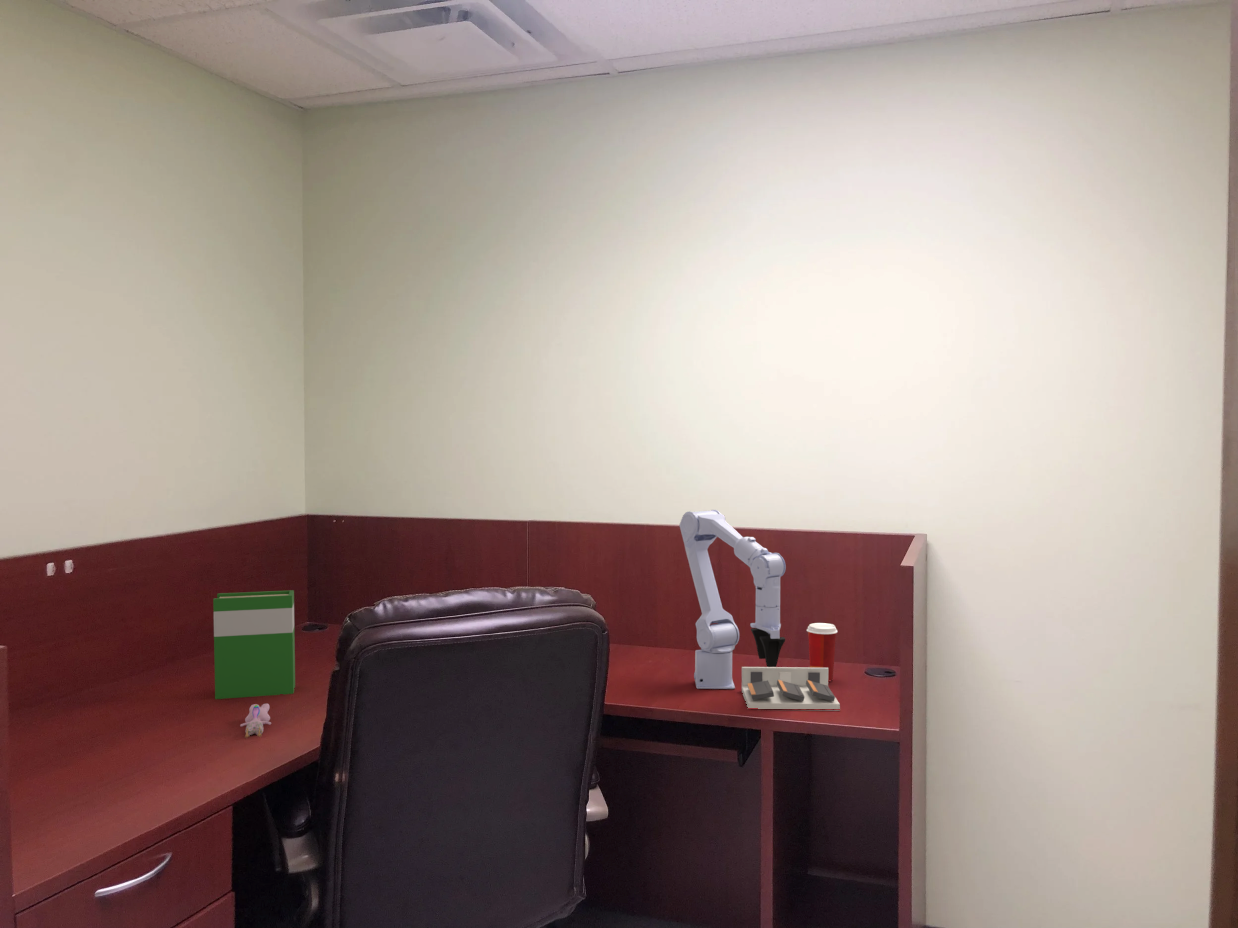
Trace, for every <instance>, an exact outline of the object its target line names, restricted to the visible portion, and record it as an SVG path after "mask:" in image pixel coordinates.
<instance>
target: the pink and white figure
mask: <svg viewBox="0 0 1238 928" xmlns="http://www.w3.org/2000/svg"><path fill="white" fill-rule="evenodd" d="M269 710H270V704H269V703H263V704H261V706H260V705H259V704H257V703H255V704H251V706H250V707H249V710H248V711H249V713H248V714H247V716H246V717H245V718H244V721H245V722H244V723H241V724H240V725H239V726H240V727H244V726H246V727H245V736H244V738H248V737H249V738H250V737H251V736H252V735H257V736H256V737H258V738H259V737H260V738H261V736H262V734H263V732H264V725H270V726H271V724H272V722H271V721H270V720H271V716H270V715H269V713H268V712H269ZM250 735H251V736H250Z"/></svg>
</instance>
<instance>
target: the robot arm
mask: <svg viewBox="0 0 1238 928" xmlns="http://www.w3.org/2000/svg"><path fill="white" fill-rule="evenodd" d="M679 529H680V532H681V533H680V534H681V537H682V541H683V544H684V551H685V554H686V557H687V560H688V564H689V565H688V566H689V569H690V573H691V576H692V581H693V584H694V588H695V592H696V596H697V600H698V603H699V608H700V610H701V615H700V616H699V618H698V619H697V620H696V622H695V628H696V641H697V644H698V646H699V648H700V649H696V650H695V653H694V654H695V655H694V659H695V660H694V661H695V662H694V673H693V678H694V679H693V680H694V683H695V687H696V689H698V690H699V689H702V690H703V689H705V690H706V689H710V690H711V689H712V690H719V689H720V690H734V689H736V686H735V683H734V681H733V680H734V679H733V650H735V649H736V648H735V647H736V645H737V644H738V643H739V641H740V630H739V628H738V625H737V623H735V620H734V618H733V615H732V614H731V613H730V612H728V611H726V610H725V609H724V608H723V605H722V601H721V598H720V593H719V590H718V585H717V582H716V578H715V574H714V570H713V567H712V563H711V559H710V555H709V551H708V549H709V547H710V545H711V544H713V543H714V541H716V539H717V538H718V539H720V540H722V542H724V543H726V544H727V545H729V546H730V547H732V548H733V553H734V555H735V557H736V558H738V559H739V560H740V561H741V562H743V563H744V564H745V565H747V567H748V568H749V569H750V573H751V576H752V577H753V584H754V587H755V618H754V619H755V622H751V623H750V625H749V626H750V627H751V628H750V632H751V633H752V635H753V638H754V640H755V645H756V651H757V655H758V659H759V660H762V659H763V660H765V664H766V667H777V665H778V662H779V657H780V652H781V650H782V648H783V645H784V644H785V642H786V637H784V636H782V637H781V636H780V632H781V631H780V630H781V627H782V623H781V577H782V576H784V574H785V572H786V570H787V569H786V568H787V566H786V561H785V559H784V557H783V556H782V555H781V554H780V553H779V552H770V551H769V550H768V548H766V547H763V546H762V545H761V544H760V543H758V542H757V541H756V538H755V537H754V536H743V535H741V533H739V532H738V531H737V530H736V529H735V528H734V527H733V526H732V525H731V524H729V523H728V522H727V521H726V517H725V515H724V514H723V513H721V512H720V511H719V510H718V509H710V510H699V511H691V510H690V511H686V512H685V513H684V514H683V515H682V517H681V519H680V523H679Z"/></svg>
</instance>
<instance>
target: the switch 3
mask: <svg viewBox="0 0 1238 928" xmlns="http://www.w3.org/2000/svg"><path fill="white" fill-rule="evenodd" d="M806 685H807V687H808V689H809V690H810V692H811V694H812V695H813V696H815V697H819V698H823V699H826V700H830V701H834V699H835V698H836V696H835V695H834V693H833V692H832V691H831V689H830V687H829V685H828V686H827V685H824V684H820V683H816V682H813V681H809V680H807V681H806Z"/></svg>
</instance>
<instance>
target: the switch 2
mask: <svg viewBox="0 0 1238 928" xmlns="http://www.w3.org/2000/svg"><path fill="white" fill-rule="evenodd" d="M776 684H777V686H778V688H779V690H780V692H781V694H782V696H786V697H790V698H793V699H797V700H801V701H803V700H804V695H803V693H802V691H801V689H800V688H799V686H798V685H796V684H792V683H788V682H785V681H781V680H777V683H776Z"/></svg>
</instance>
